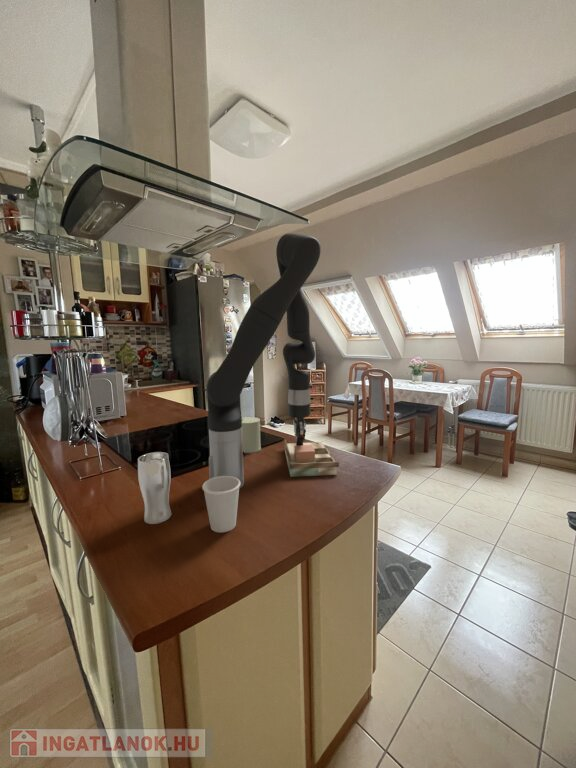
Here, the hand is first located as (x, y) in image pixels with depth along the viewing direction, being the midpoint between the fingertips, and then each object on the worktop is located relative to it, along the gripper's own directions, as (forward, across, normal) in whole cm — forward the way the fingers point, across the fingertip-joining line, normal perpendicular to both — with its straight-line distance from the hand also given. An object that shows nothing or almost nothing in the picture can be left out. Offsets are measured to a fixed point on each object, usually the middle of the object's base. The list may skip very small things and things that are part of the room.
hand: (299, 450), depth 110 cm
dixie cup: (+3, -37, +22) cm, 43 cm away
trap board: (+3, -1, -3) cm, 5 cm away
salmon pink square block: (+1, -5, -1) cm, 5 cm away
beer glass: (+3, -32, +38) cm, 50 cm away
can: (+4, +13, +18) cm, 23 cm away
